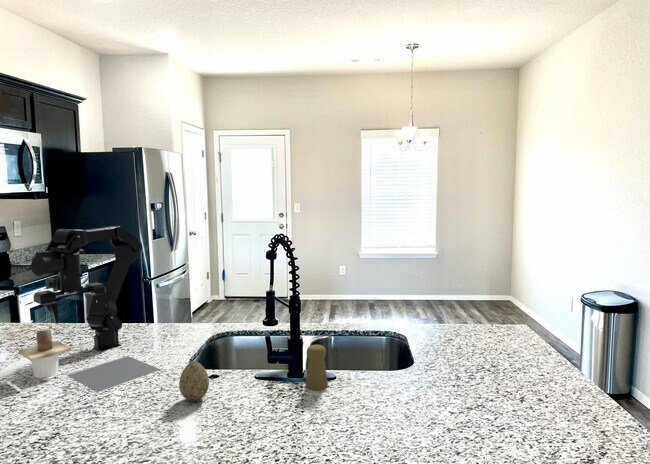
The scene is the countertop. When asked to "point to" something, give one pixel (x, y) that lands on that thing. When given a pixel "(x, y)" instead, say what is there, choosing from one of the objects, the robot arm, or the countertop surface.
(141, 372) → the mat
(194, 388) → the decorative egg
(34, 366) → the white round cup
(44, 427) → the countertop surface
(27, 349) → the lid
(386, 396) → the countertop surface
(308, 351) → the cork
